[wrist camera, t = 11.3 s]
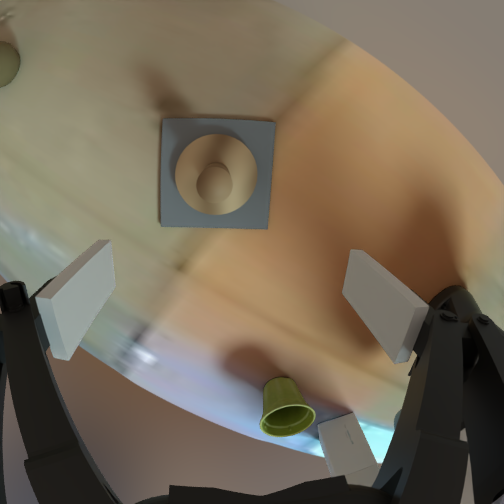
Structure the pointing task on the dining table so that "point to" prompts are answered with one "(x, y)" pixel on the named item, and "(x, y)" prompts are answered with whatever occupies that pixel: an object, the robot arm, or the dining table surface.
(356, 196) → the dining table surface
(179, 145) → the mat
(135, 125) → the dining table surface
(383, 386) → the dining table surface
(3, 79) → the squeeze bottle
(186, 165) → the beige disc-based post
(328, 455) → the tall white carton
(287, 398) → the plant pot
